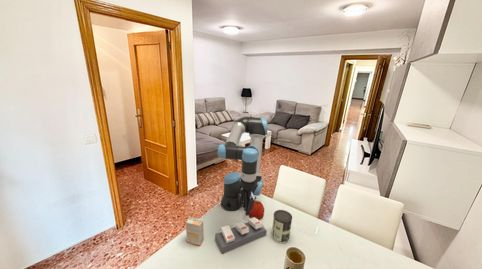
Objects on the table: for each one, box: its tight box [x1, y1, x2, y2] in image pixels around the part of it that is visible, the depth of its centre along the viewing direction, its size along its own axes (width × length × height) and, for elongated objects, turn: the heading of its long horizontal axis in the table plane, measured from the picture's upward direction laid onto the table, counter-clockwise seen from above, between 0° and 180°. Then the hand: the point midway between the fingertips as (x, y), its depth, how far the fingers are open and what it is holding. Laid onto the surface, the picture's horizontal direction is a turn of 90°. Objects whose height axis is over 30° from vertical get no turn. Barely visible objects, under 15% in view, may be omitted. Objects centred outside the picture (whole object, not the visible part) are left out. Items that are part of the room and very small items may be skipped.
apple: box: [249, 200, 265, 220], centre depth 126 cm, size 10×10×10 cm
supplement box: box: [185, 216, 205, 247], centre depth 103 cm, size 8×5×13 cm, turn 74°
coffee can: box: [271, 209, 293, 244], centre depth 109 cm, size 10×10×14 cm
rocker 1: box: [220, 224, 235, 243], centre depth 102 cm, size 8×4×2 cm, turn 29°
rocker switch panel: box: [214, 221, 268, 255], centre depth 108 cm, size 10×28×5 cm, turn 119°
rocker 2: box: [234, 221, 249, 234], centre depth 107 cm, size 8×4×2 cm, turn 29°
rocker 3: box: [247, 217, 263, 229], centre depth 112 cm, size 8×4×3 cm, turn 29°
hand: (245, 219), depth 102 cm, fingers closed
